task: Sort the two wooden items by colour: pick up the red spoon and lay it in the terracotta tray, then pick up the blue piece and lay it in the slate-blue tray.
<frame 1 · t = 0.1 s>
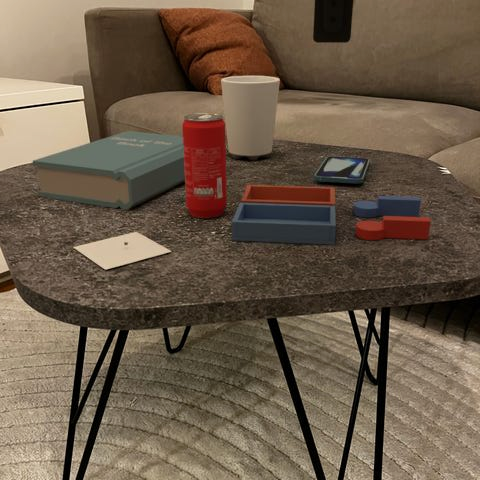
hand: (331, 38, 55), 21 cm above the table, tool pointing down, fingers open, 9 cm apart
cup: (250, 157, 104), on the table
red spoon: (391, 236, 69), on the table
coaster: (122, 251, 65), on the table
book: (131, 183, 90), on the table
red tray: (288, 210, 77), on the table
blue tray: (284, 231, 70), on the table
smartphone: (343, 173, 94), on the table
blue piece: (385, 214, 76), on the table
beverage can: (206, 214, 77), on the table
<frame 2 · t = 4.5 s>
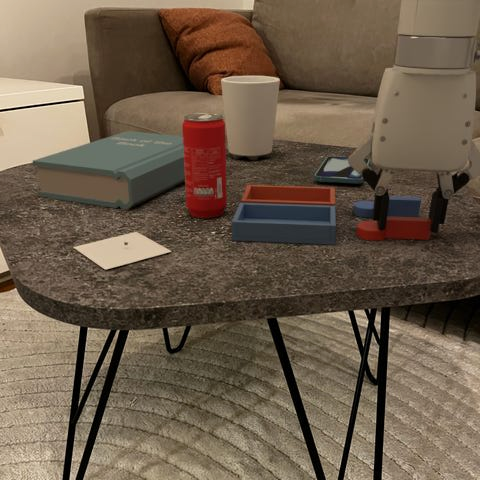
hand: (406, 226, 68), 1 cm above the table, tool pointing down, fingers closed on red spoon, 5 cm apart
red spoon: (393, 236, 69), on the table, touching gripper
everything else where it was.
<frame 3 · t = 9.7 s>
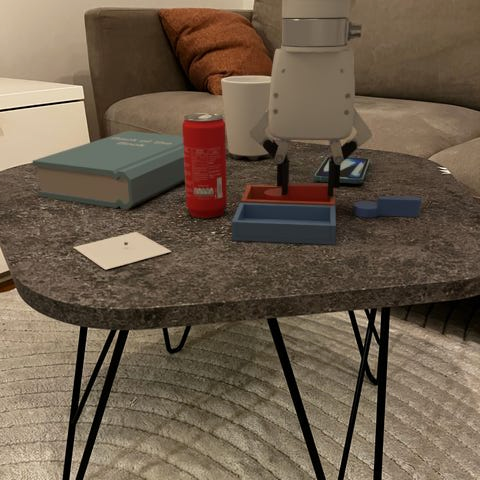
hand: (307, 191, 76), 3 cm above the table, tool pointing down, fingers closed on red spoon, 5 cm apart
red spoon: (296, 201, 77), point 1 cm above the table, touching gripper
everything else where it was.
when the fingers open (3 cm above the table, at t = 14.8 s): red spoon drops 1 cm, resting on red tray.
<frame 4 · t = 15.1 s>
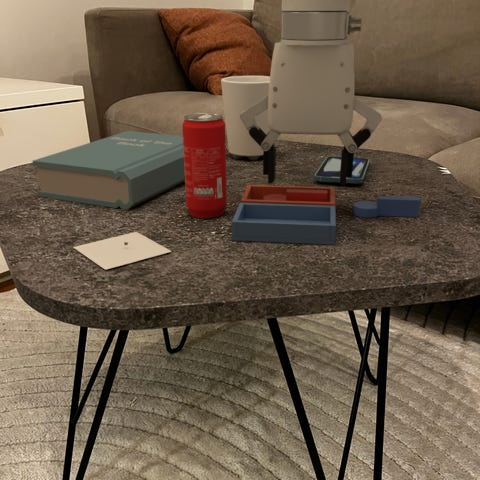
hand: (306, 181, 75), 4 cm above the table, tool pointing down, fingers open, 8 cm apart
red spoon: (295, 207, 77), resting on red tray
everything else where it was.
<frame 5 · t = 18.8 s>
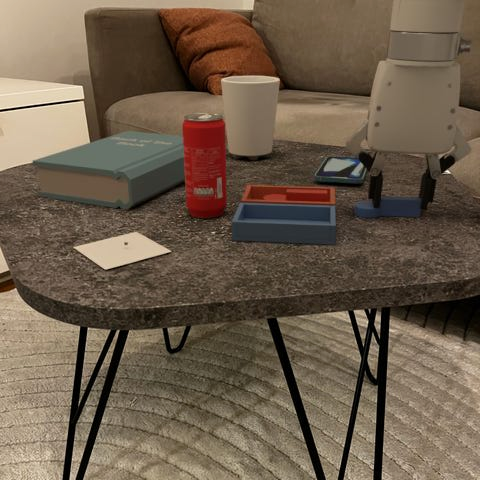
hand: (398, 204, 75), 1 cm above the table, tool pointing down, fingers closed on blue piece, 5 cm apart
blue piece: (386, 214, 76), on the table, touching gripper
everything else where it was.
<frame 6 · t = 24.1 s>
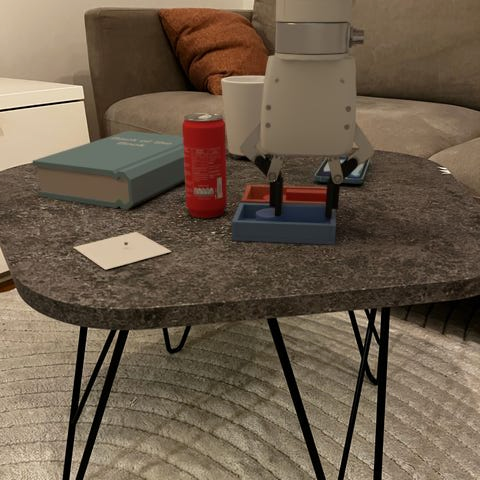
hand: (303, 212, 69), 3 cm above the table, tool pointing down, fingers closed on blue piece, 5 cm apart
blue piece: (291, 222, 70), point 1 cm above the table, touching gripper
everything else where it was.
when the fingers open (3 cm above the table, at t = 29.3 s): blue piece drops 1 cm, resting on blue tray.
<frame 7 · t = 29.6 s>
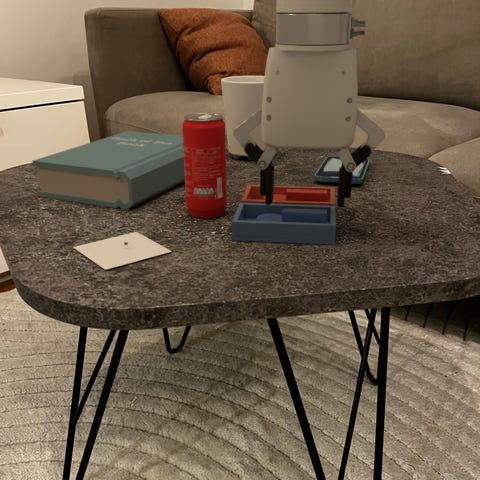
hand: (304, 201, 68), 4 cm above the table, tool pointing down, fingers open, 7 cm apart
blue piece: (291, 228, 70), resting on blue tray
everything else where it was.
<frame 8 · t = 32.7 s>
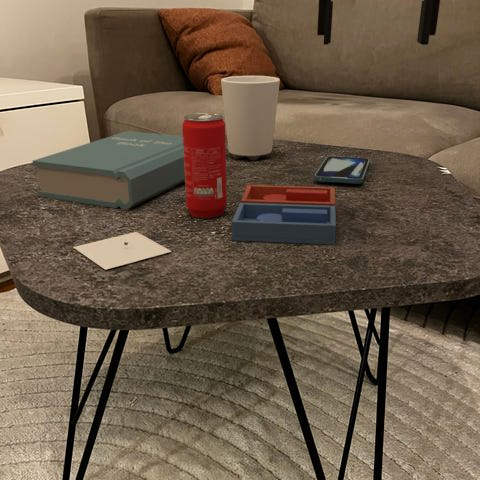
hand: (374, 43, 60), 20 cm above the table, tool pointing down, fingers open, 9 cm apart
nothing on the table moved.
at the end: red spoon inside the target area in the red tray (0.8 cm from its centre), point 0.5 cm above the red tray's base; blue piece inside the target area in the blue tray (0.8 cm from its centre), point 0.5 cm above the blue tray's base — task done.
